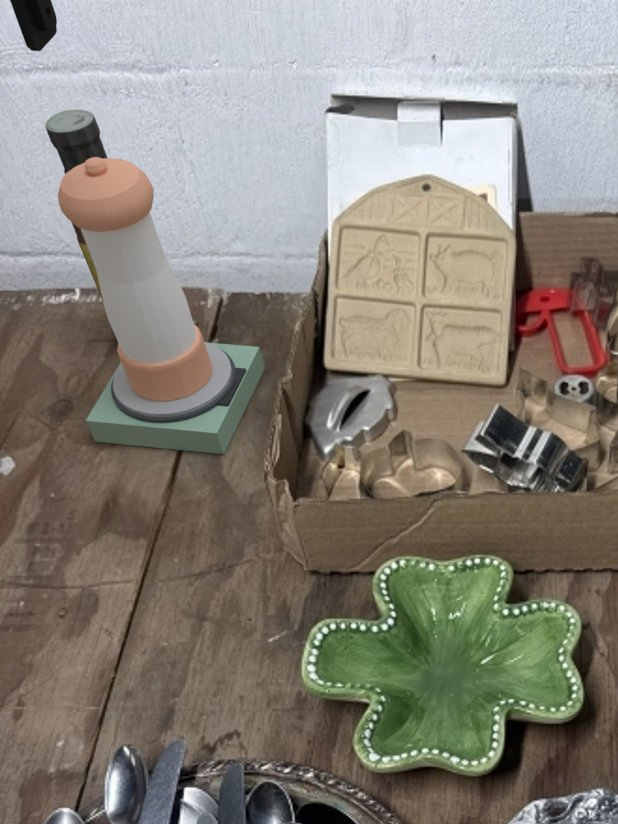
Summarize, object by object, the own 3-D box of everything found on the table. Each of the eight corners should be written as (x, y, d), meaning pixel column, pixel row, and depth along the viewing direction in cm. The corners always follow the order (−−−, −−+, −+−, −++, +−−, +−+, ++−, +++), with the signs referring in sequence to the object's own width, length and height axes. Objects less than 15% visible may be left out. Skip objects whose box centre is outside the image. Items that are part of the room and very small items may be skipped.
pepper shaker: (185, 409, 92) (107, 193, 77) (113, 391, 94) (22, 176, 78) (227, 358, 96) (161, 143, 80) (158, 342, 98) (79, 128, 82)
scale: (95, 442, 95) (81, 413, 92) (144, 357, 102) (133, 328, 99) (224, 454, 94) (214, 425, 91) (265, 368, 100) (257, 339, 98)
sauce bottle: (193, 336, 103) (122, 125, 87) (132, 360, 102) (48, 149, 85) (166, 303, 107) (93, 94, 90) (106, 326, 105) (21, 116, 88)
